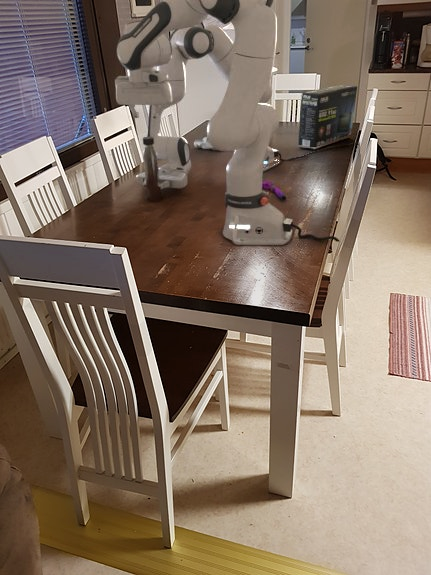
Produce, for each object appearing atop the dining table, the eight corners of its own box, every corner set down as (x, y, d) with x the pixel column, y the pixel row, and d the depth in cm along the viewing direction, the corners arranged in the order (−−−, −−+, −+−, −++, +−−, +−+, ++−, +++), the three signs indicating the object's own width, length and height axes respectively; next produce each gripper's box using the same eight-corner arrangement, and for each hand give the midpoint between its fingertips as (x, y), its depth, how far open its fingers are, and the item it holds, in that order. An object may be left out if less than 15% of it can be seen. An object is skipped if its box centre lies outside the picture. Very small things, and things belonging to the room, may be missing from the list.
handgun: (253, 185, 189) (253, 181, 188) (271, 183, 190) (271, 179, 189) (267, 202, 172) (267, 197, 171) (287, 200, 173) (287, 195, 172)
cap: (149, 145, 167) (148, 139, 166) (141, 144, 169) (140, 138, 168) (156, 143, 170) (155, 137, 169) (147, 142, 172) (147, 136, 170)
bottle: (155, 202, 177) (149, 141, 165) (145, 200, 180) (137, 139, 168) (164, 198, 181) (158, 138, 169) (153, 195, 183) (147, 136, 171)
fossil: (217, 145, 233) (197, 126, 236) (207, 162, 240) (188, 144, 243) (235, 143, 247) (216, 125, 250) (225, 159, 253) (207, 142, 257)
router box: (314, 151, 231) (318, 94, 217) (296, 148, 237) (299, 92, 224) (352, 138, 251) (358, 85, 238) (335, 135, 258) (340, 83, 245)
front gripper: (109, 77, 158) (115, 119, 165) (165, 76, 152) (168, 120, 159) (118, 74, 163) (123, 115, 170) (172, 74, 157) (175, 116, 164)
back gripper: (144, 166, 189) (127, 175, 178) (190, 169, 183) (175, 180, 172) (146, 180, 193) (129, 191, 182) (191, 185, 186) (176, 196, 175)
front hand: (146, 117), depth 164 cm, fingers open, 6 cm apart
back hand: (152, 186), depth 177 cm, fingers closed on bottle, 5 cm apart
